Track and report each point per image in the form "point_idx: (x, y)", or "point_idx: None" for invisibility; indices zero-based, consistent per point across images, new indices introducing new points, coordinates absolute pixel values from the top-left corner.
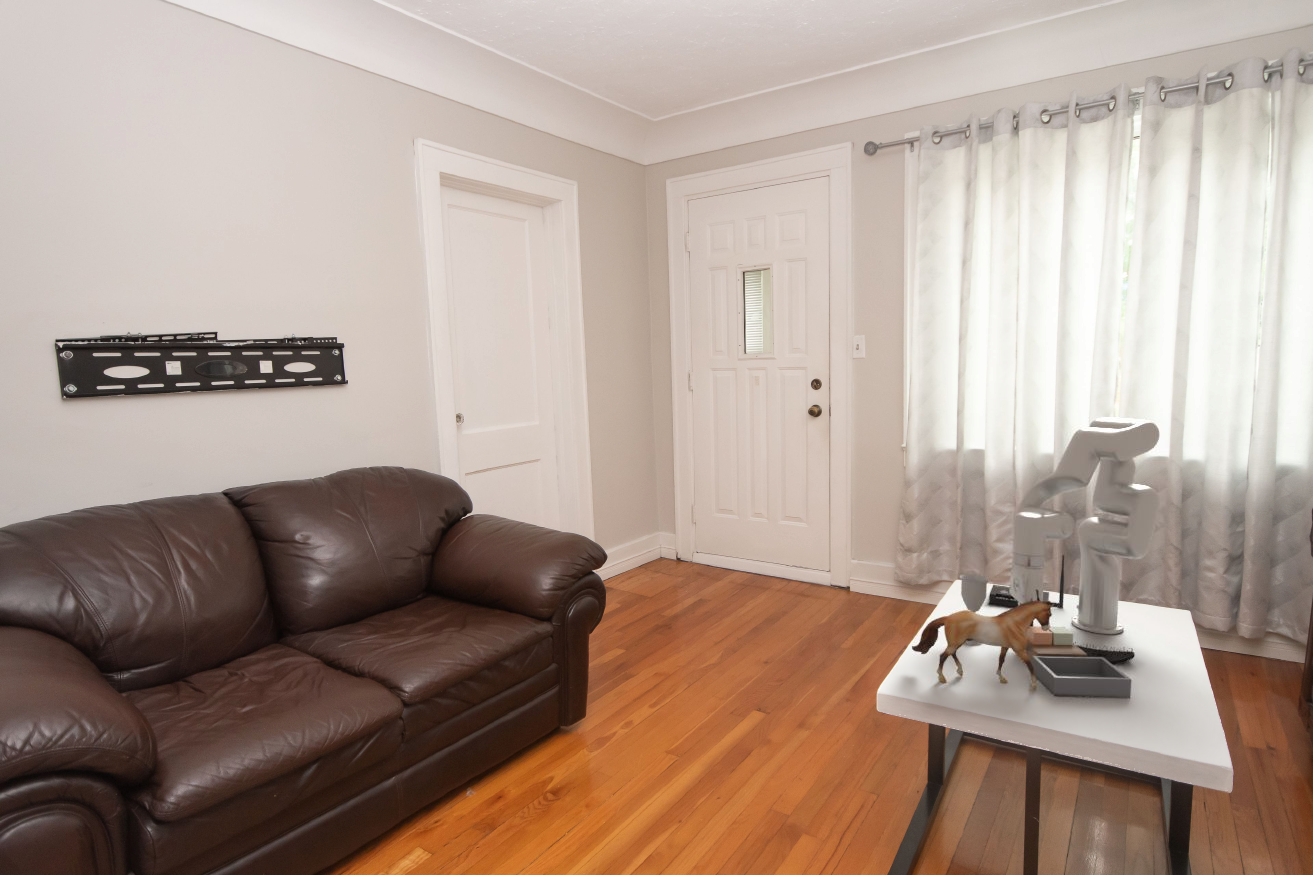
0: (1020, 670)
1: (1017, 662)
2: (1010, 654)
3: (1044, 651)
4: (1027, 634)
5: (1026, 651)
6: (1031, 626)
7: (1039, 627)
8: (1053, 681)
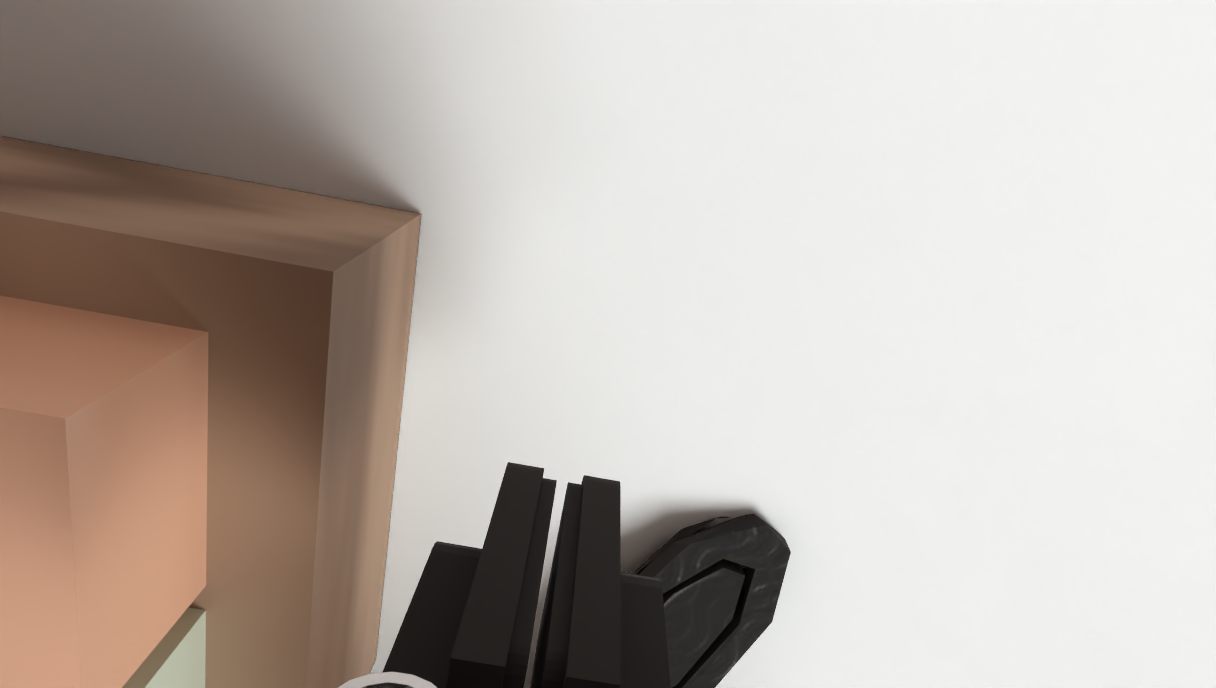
0: None
1: (122, 39)
2: (378, 99)
3: None
4: (78, 344)
5: (50, 179)
6: (58, 516)
7: (11, 628)
8: None
